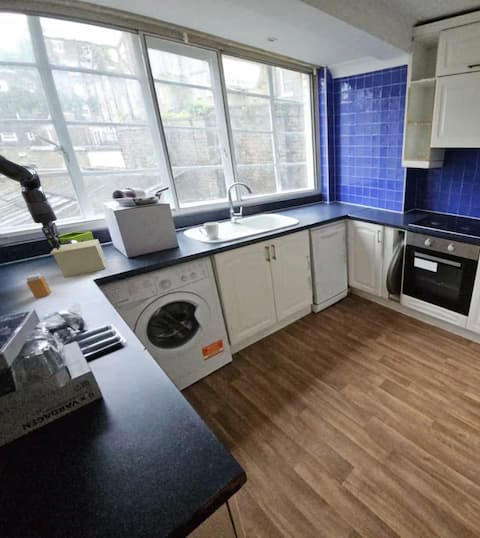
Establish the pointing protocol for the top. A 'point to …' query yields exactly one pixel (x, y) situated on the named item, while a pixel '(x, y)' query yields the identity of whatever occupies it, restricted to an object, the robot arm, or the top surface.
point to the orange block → (38, 285)
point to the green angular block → (76, 237)
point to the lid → (74, 246)
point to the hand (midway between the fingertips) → (58, 246)
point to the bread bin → (81, 261)
